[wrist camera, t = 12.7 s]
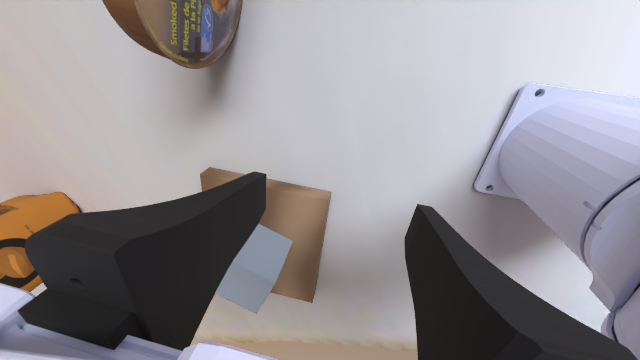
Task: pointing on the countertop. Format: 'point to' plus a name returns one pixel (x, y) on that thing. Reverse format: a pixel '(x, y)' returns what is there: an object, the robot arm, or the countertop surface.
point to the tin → (179, 27)
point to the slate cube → (255, 269)
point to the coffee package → (26, 233)
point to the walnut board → (289, 229)
